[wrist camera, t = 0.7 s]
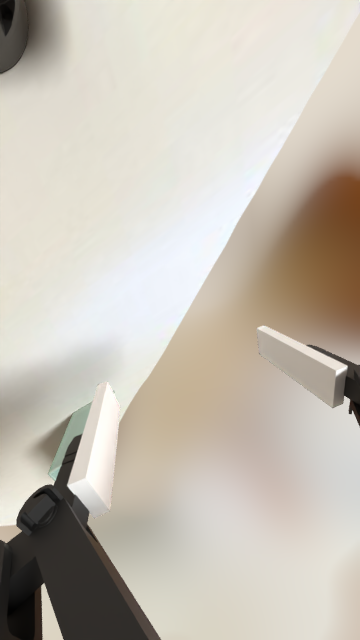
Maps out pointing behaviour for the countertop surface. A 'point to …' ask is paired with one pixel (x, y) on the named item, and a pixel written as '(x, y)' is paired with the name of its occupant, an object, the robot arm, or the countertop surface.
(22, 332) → the countertop surface
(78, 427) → the planter
